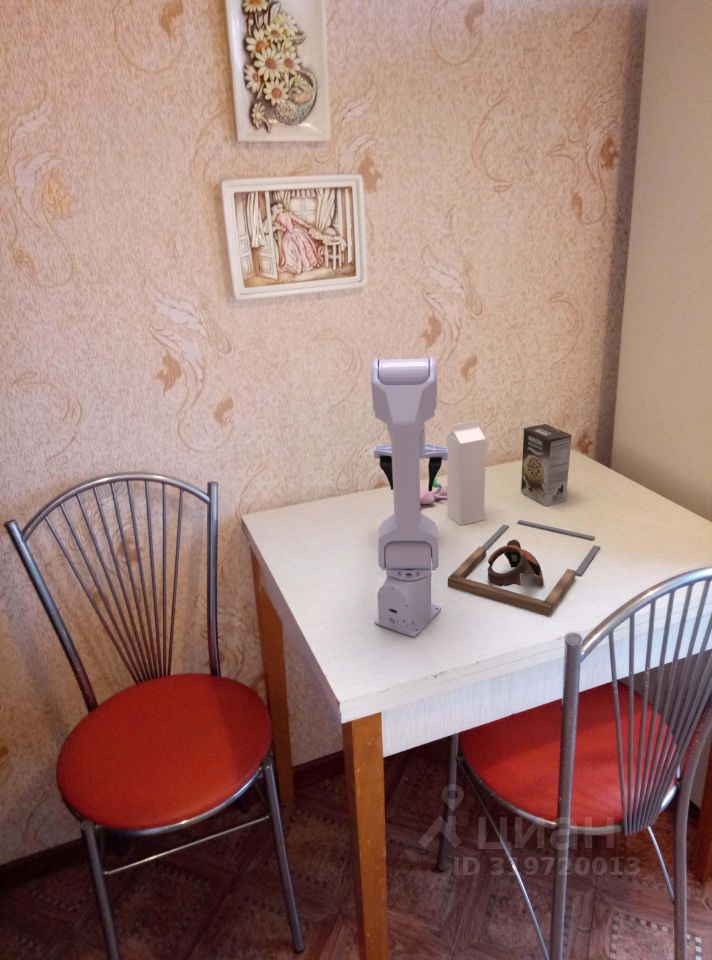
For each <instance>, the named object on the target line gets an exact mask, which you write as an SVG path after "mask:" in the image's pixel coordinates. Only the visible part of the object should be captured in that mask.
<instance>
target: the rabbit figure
mask: <svg viewBox="0 0 712 960" xmlns="http://www.w3.org/2000/svg"><path fill="white" fill-rule="evenodd" d="M437 481H438V478H435V479H434V482H433V488H434V489H435V488H436V491H433V490H432V491H428V487H420V504H424V505H430V504H433V503H434V502H435V499H436V500H438V499H442V500H443V499H445V500H447V485H446V486H443V485H441V484H440V483H438V482H437Z"/></svg>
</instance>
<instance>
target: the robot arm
mask: <svg viewBox="0 0 712 960" xmlns="http://www.w3.org/2000/svg"><path fill="white" fill-rule="evenodd" d="M437 366H438V364H437V360H436V359H435V357H434V356H429V357H428V358H427V357H425V358H423V357H422V358H421V357H419V358H391V359H389V358H388V359H385V358H384V359H379V358H375V359H374V360H373V361H372V362H371V366H370V368H371V369H370V383H371V385H370V386H371V397H372V409H373V411H374V417H375V418H376V419H377V420H380V421H381V422H382V423H384V424H386V428H387V431H388V434H389V438H390V441H391V443H390V444H384V445H382V444H381V445H375V446H374V449H373V457H374V458H373V459H378V460H379V464H378V465H379V467H380V469H381V470H382V472H384V475H385V476H386V478H387V481H388V483H389V486H390V490H391V491H392V492H393V512H394V513H393V514H392V515H390V516H388V518H385V520H383V521H382V522H381V523H380V526H379V528H378V541H377V545H378V546H377V548H378V549H377V557H378V566H379V568H380V569H381V570H382V571H386V578H385V581H384V583H383V584H382V586H381V587H380V588H379V589H378V592H377V609H378V610H377V611H378V613H377V614H378V617H376V618H375V619H374V624H375V625H379V626H381V627H383V628H387V629H390V630H393V631H395V632H398V633H401V634H404V635H407V636H410V637H414V638H415V637H416V636H418V635H419V634H420V633H421V631H422V630H424V628H426V626H427V625H428V624H429V623H430V622H431V621H432V619H434V617H435V616H436V615H438V613H439V612H440V611H441V610H442V607H441V606H440V605H437V604H434V603H432V571H436V570H437V569H438V567H440V566H439V563H440V562H439V560H440V558H439V556H440V555H439V553H440V552H439V534H438V525H436V522H435V521H434V520H432V519H431V518H429V517H428V516H426V515H425V514H423V513H422V512H421V503H420V489H421V474H420V473H421V471H420V470H421V469H420V459H428V466H427V468H428V485H427V486H428V487H427V488H428V491H432V492H433V488H434V487H433V482H434V479H436V477H437V475H438V473H439V472H440V469H441V467H442V462H443V461H446V462H447V458H448V447H447V446H445V447H443V446H438V445H432V444H428V443H426V426H425V425H426V423H425V422H427V421H428V420H430V419H432V418H434V417H435V413H436V412H435V410H436V409H437V396H438V367H437Z"/></svg>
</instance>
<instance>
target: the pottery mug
mask: <svg viewBox="0 0 712 960" xmlns="http://www.w3.org/2000/svg"><path fill="white" fill-rule="evenodd" d="M502 555H504V556H505V558H506V559H507V561H508V563H509V565H510V568H512V570H509V571H507V572H500V573H499V572H496V571H494V569H493V565H494V563H495V562H496V560H497V559H498V558H500V557H501V556H502ZM487 563H488V564H489V566H488V567H487V578H488V583H490V584H492V585H493V586H495V587H499V588H500V587H501V588H502V587H509V586H512V585H518V586H521V587H522V581H521V575H523V576H528V575H529V576H533V575H535V576H537V577H538V581H539V584H540V587H541V588H543V587H544V584H545V583H544V577H543V571H542V569H541V568H542V567H541V564H540V562H538V559H537V558H536V557H535V555H533V554H532V553H531V552H530V551H528V550H527V549H522V546H521V543H520V542H519V540H517V539H512V540H509V541H508V542H507V543H506V545H503V546H501V547H499V548H497V549H495V551H493V552H492V554H490V556H489V558H488V559H487Z"/></svg>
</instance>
